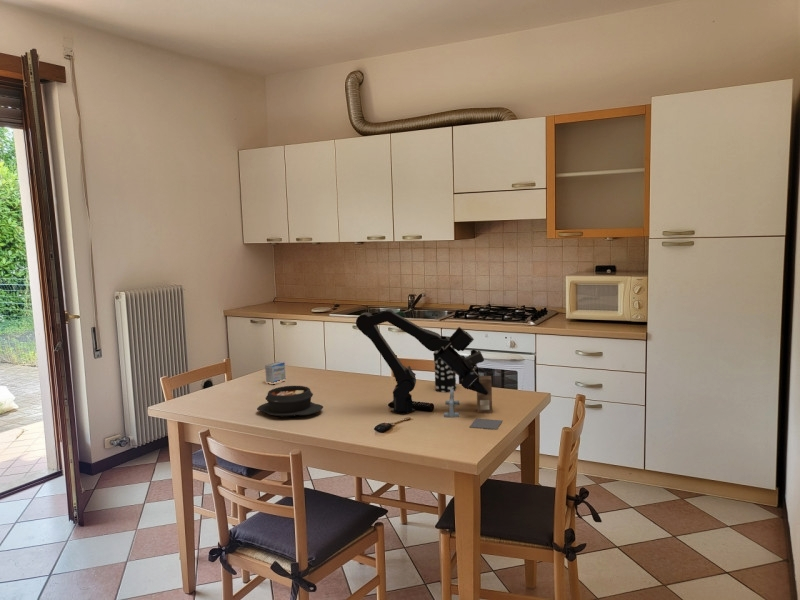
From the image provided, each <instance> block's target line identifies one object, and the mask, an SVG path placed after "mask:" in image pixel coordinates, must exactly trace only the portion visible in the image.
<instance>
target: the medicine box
mask: <svg viewBox="0 0 800 600" xmlns="http://www.w3.org/2000/svg"><path fill="white" fill-rule="evenodd" d="M264 368H265V383H266V382H271V383H274V382H277V381H280V380H283V379H286V380H287V378H286V364H285V361H284V362H283V361H277V362H273V363H268V364H266V365H265V366H264Z"/></svg>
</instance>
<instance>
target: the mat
mask: <svg viewBox="0 0 800 600" xmlns="http://www.w3.org/2000/svg"><path fill="white" fill-rule="evenodd" d="M502 421H503V420H502V419H501V420H500V419H487V418H475V419H474V420H473V422H472V423H471V424H470V425H469V428H472V429H481V428H483V430H493V429H497V430H499V428H500V426H501V425H500V424H502V423H503V422H502ZM498 427H499V428H498Z"/></svg>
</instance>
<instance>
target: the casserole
mask: <svg viewBox="0 0 800 600" xmlns="http://www.w3.org/2000/svg"><path fill="white" fill-rule="evenodd" d="M313 395H314V393H313V392H312V391H311V388H310V387H308V386H305V385H287V386H279V387H276V388H275V387H274V388H272V389H270V390H269V391H268V392H267V395H266V397H265V401H266V402H265V403H263V404H261V405H259V406H258V407H257V408H256V410H257V411H259V412H263V413H265V414H268V415H271V416H276V417H279V416H294V415H299V416H308V415H312V414H316V413H318V412H320V411H322V410H323V409H324V406H323V405H322V404H318V403H315V402H312V397H313ZM294 417H295V416H294Z"/></svg>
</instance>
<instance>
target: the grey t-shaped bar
mask: <svg viewBox="0 0 800 600" xmlns="http://www.w3.org/2000/svg"><path fill="white" fill-rule="evenodd" d="M454 392H455V391H454V389H450V392H449V400H445V406H447V405H448V406H449V408H448V409H449V412H444V414H443V418H459V417H460V412H454V409H455V408H454V407H455V406H456V405H460V400H455V393H454ZM454 405H455V406H454Z"/></svg>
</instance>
